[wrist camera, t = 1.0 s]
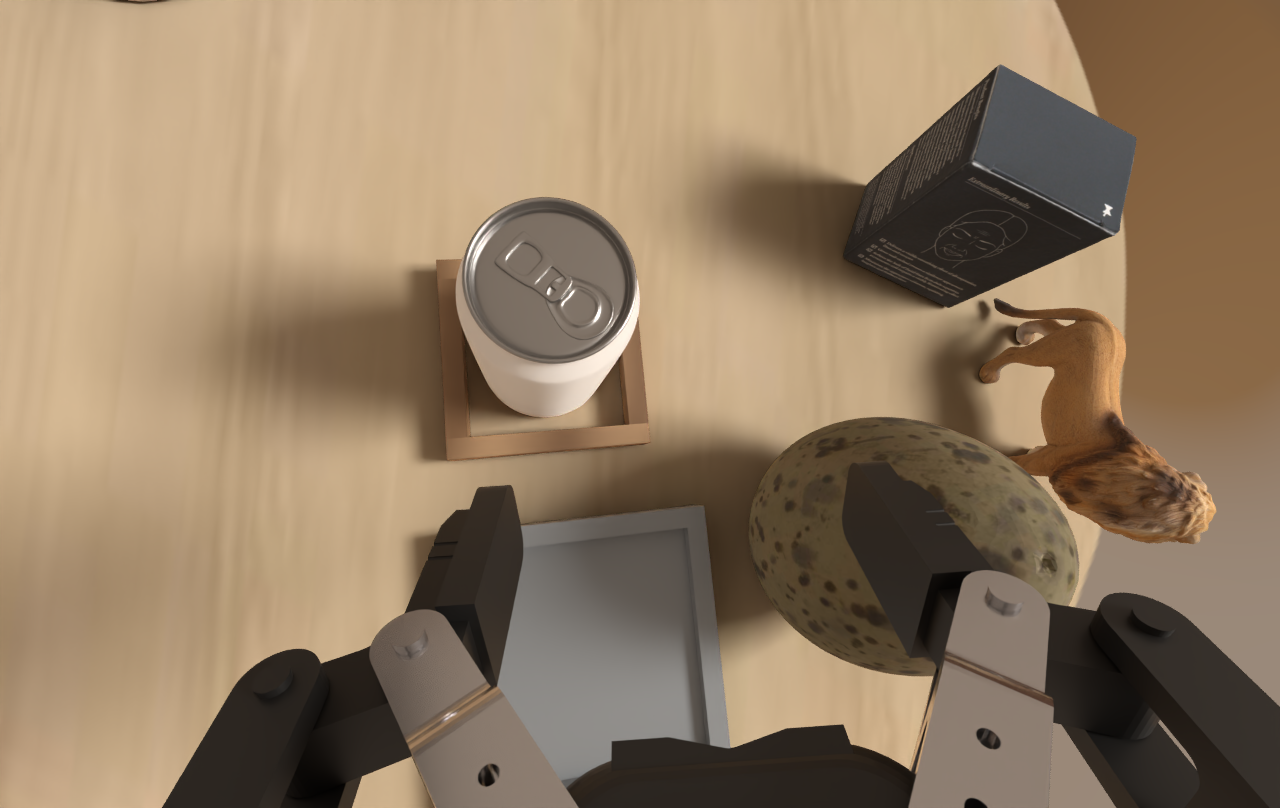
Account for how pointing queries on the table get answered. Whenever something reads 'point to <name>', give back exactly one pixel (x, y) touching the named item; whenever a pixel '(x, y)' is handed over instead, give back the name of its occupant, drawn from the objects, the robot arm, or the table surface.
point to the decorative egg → (826, 566)
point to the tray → (615, 636)
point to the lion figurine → (1099, 433)
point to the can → (547, 303)
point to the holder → (531, 442)
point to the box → (993, 192)
